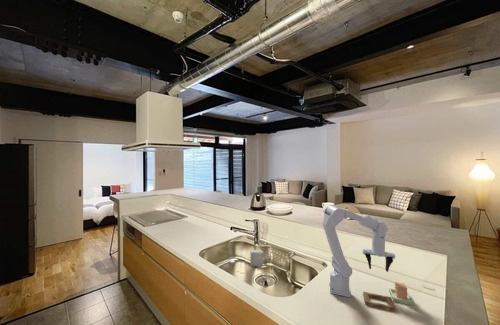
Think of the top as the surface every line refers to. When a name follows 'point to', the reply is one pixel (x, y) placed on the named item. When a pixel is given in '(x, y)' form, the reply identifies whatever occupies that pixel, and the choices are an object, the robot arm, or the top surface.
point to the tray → (408, 301)
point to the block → (400, 290)
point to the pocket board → (378, 305)
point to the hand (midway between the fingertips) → (378, 269)
